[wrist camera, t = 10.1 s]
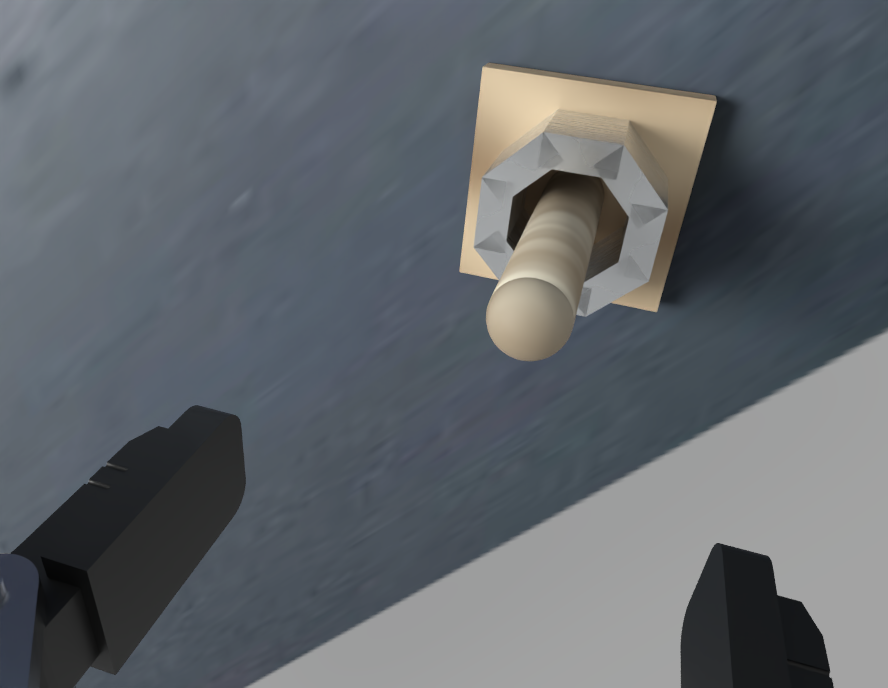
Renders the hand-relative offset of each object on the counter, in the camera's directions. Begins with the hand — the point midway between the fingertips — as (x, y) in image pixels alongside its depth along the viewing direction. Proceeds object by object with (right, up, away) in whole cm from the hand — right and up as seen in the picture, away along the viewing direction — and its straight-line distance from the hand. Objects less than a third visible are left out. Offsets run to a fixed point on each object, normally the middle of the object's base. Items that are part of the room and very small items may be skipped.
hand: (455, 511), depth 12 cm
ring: (+5, +8, +14) cm, 17 cm away
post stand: (+5, +9, +15) cm, 18 cm away
